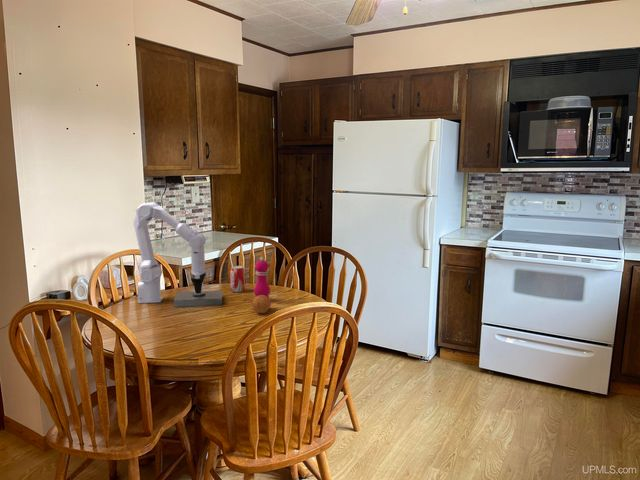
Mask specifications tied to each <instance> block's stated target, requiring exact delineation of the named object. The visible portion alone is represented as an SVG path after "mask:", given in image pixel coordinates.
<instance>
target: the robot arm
mask: <svg viewBox="0 0 640 480" xmlns="http://www.w3.org/2000/svg"><path fill="white" fill-rule="evenodd" d="M152 219H160V220H161V221H163V222H165V223H166V224H167V225H169V226H170V227H172V228H173V229H175V233H176V234H177V235H178V236H179V237H181V238H182V239H184V240H185V242H188V245H189V246H190V250H191V251H190V256H191V257H190V261H191V262H190V263H191V271H190V272H191V274H192V276H193V277H190V281H191V282H192V284H193V289H194V288H195V292H196V294H197V293H201V289H202V283H203V284H204V279H205V277H206V275H207V273H208V272H209V271H208V269H207V270H206V264H205V260H206V258H205V244H206V241H207V240H206V237H205V235H204V234H203V233H200V232H199V231H198V230H195V229H193V228H192V227H191V226H190V224H189V223H185V222H179V220H178V219H176V218H175V217H174V216H172V215H171V213H169V212H168V211H167V210H165V209H164V208H163V206H161V205H159V204H158V203H156V202H155V201H152V202H147V203H141V204H139V205H138V207H137V208H136V209H135V216H134V219H133V227H134V232H135V234H136V235H135V236H136V241H137V245H138V249H139V253H140V257H141V264H140V267H139V268H140V275H139V276H140V279H141V281H138V284H137V300H138V301H137V302H138V304H151V303H161V302H162V300H163V298H164V297H163V296H161V295H162V294H161V292H162V291H161V278H160V277H161V276H162V274H163V270H162V268H161V267H160V265H159V262H158V260H157V259H156V258H155V253H154V249H153V246H152V240H151V236H150V232H149V228H148V227H149V226H148V224H149V223H150V222H151V221H152Z"/></svg>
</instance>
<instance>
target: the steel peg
mask: <svg viewBox="0 0 640 480" xmlns="http://www.w3.org/2000/svg"><path fill="white" fill-rule="evenodd" d="M203 291H204V282H203V283H202V289H201V293H197V294H196V292H195V288H194V287H193V292H194V297H203Z"/></svg>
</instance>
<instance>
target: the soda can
mask: <svg viewBox="0 0 640 480" xmlns="http://www.w3.org/2000/svg"><path fill="white" fill-rule="evenodd" d="M229 272H230V274H229V277H230V279H229V284H230V290H231V291H232V292H233V293H242V292H244V291H245V289H246V272H245V269H244V266H243V265H234V266H233V265H232V266H231V268H230V271H229Z"/></svg>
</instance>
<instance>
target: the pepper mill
mask: <svg viewBox="0 0 640 480" xmlns="http://www.w3.org/2000/svg"><path fill="white" fill-rule="evenodd" d="M254 265H255V266H254V268H255V270H256V275H257V281H256V284H255V286H254V289H253V293H254V295H255V297H254V299H255V298H256V297H257V296H258V295H265V296H267V297H268V298H269V299H270V296H269V295H270V293H271V288H270V285H269V283H268V280H267V279H268V278H267V275H268V269H269V263H268V261H266V260H265V259H264V257H263V256H261V257H259V260H258V261H256V263H255V264H254Z"/></svg>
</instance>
